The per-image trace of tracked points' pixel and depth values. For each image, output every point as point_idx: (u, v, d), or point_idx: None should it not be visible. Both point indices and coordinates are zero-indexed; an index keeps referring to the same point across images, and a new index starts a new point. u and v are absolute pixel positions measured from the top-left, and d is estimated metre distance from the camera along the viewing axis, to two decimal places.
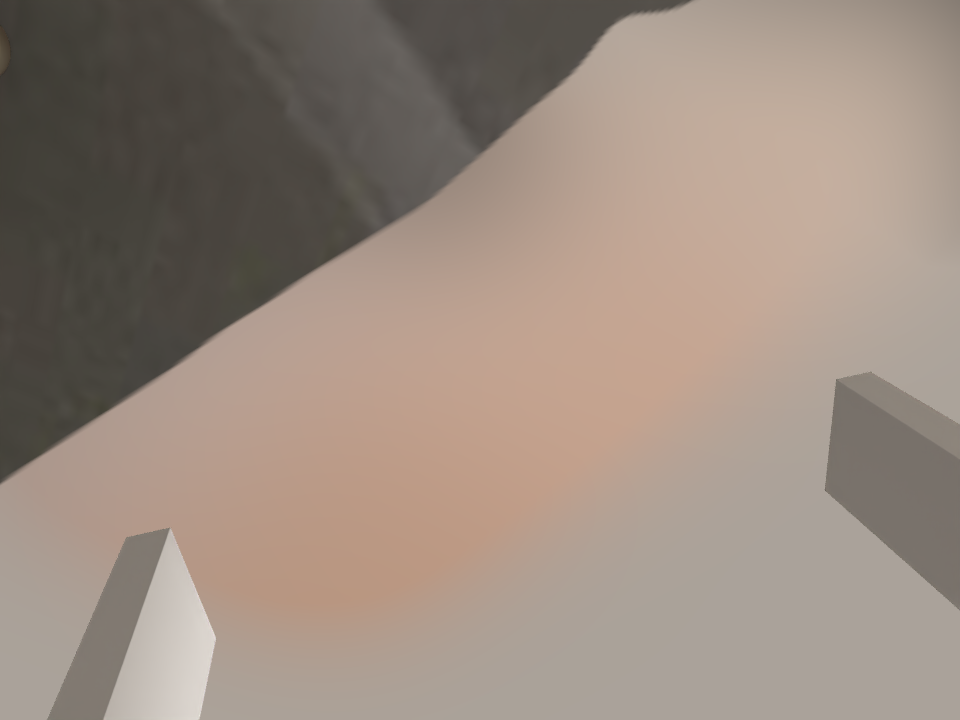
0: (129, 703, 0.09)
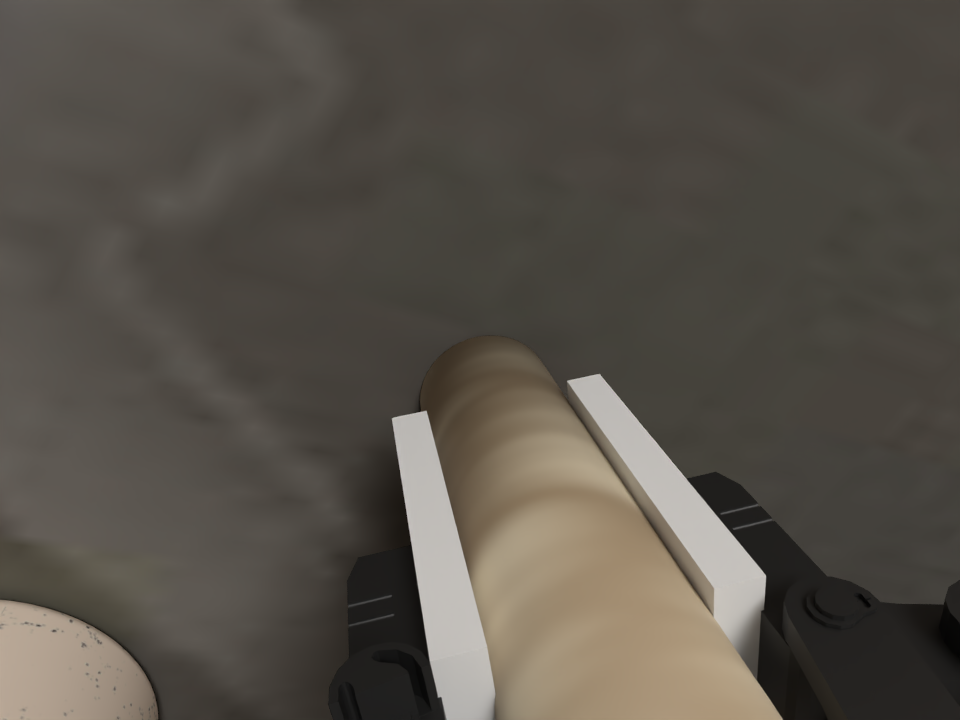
0: None
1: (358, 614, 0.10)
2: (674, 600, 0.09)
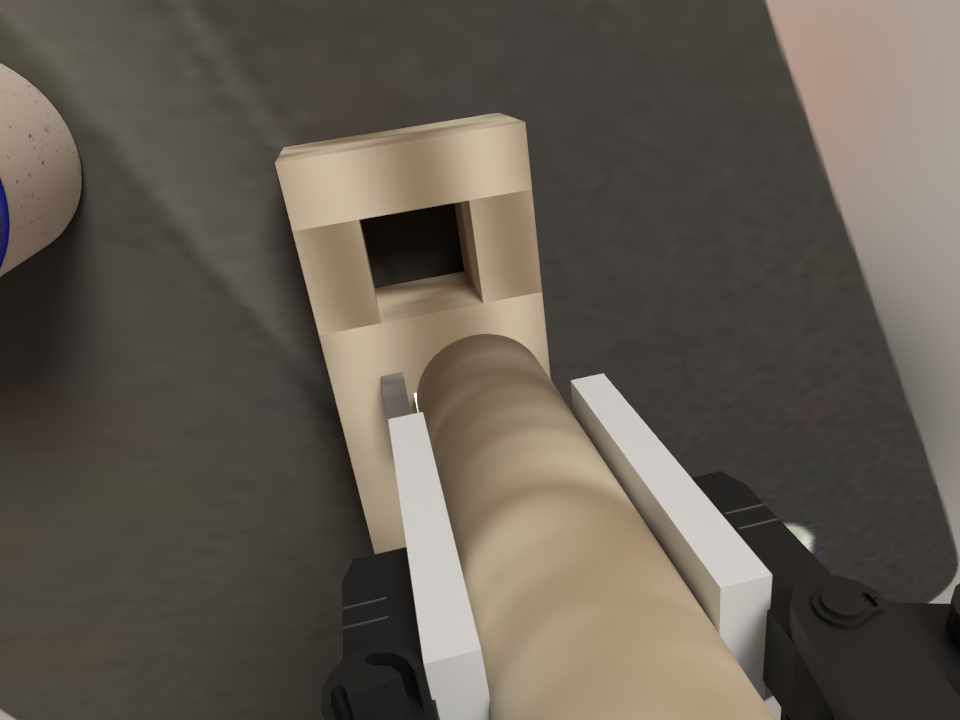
0: None
1: (353, 616, 0.10)
2: (664, 593, 0.09)
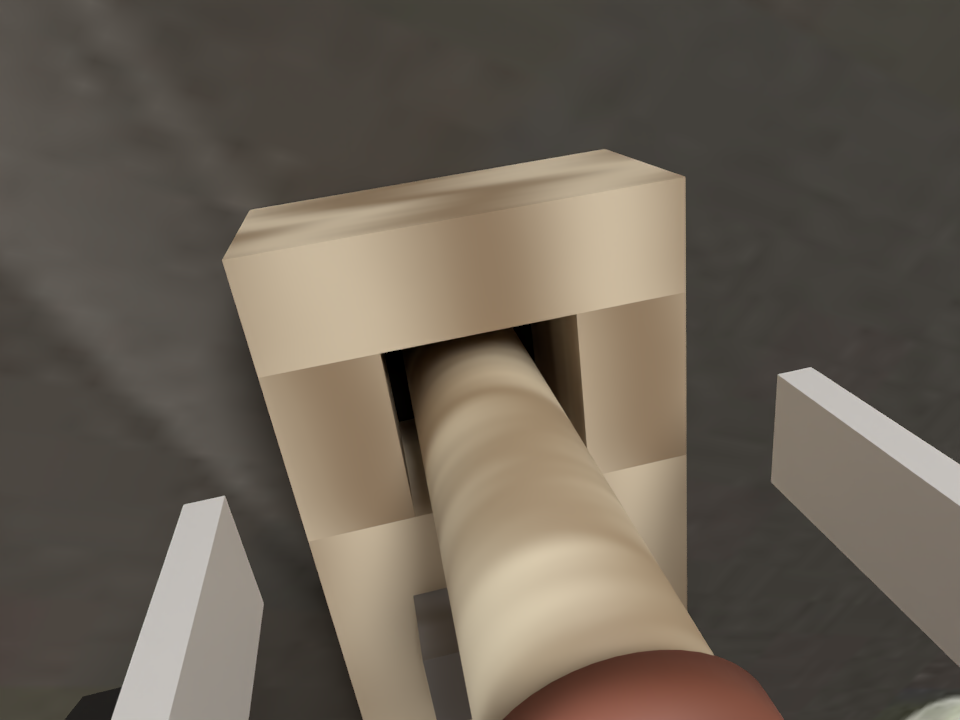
0: (201, 650, 0.10)
1: None
2: (566, 452, 0.12)
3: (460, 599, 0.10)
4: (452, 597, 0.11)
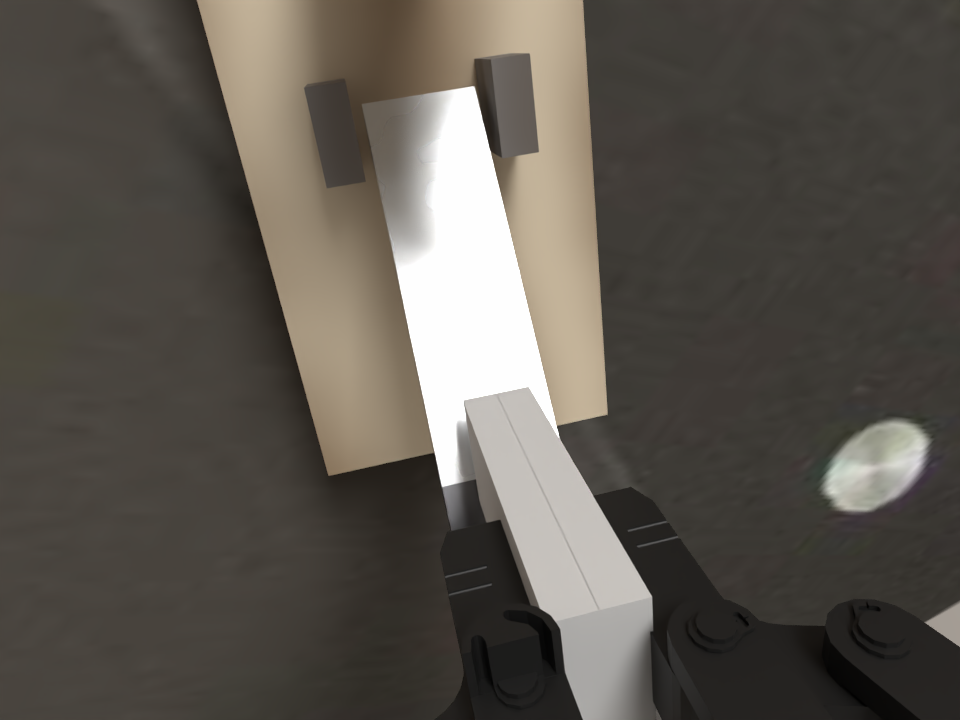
0: None
1: (456, 584, 0.11)
2: None
3: None
4: None
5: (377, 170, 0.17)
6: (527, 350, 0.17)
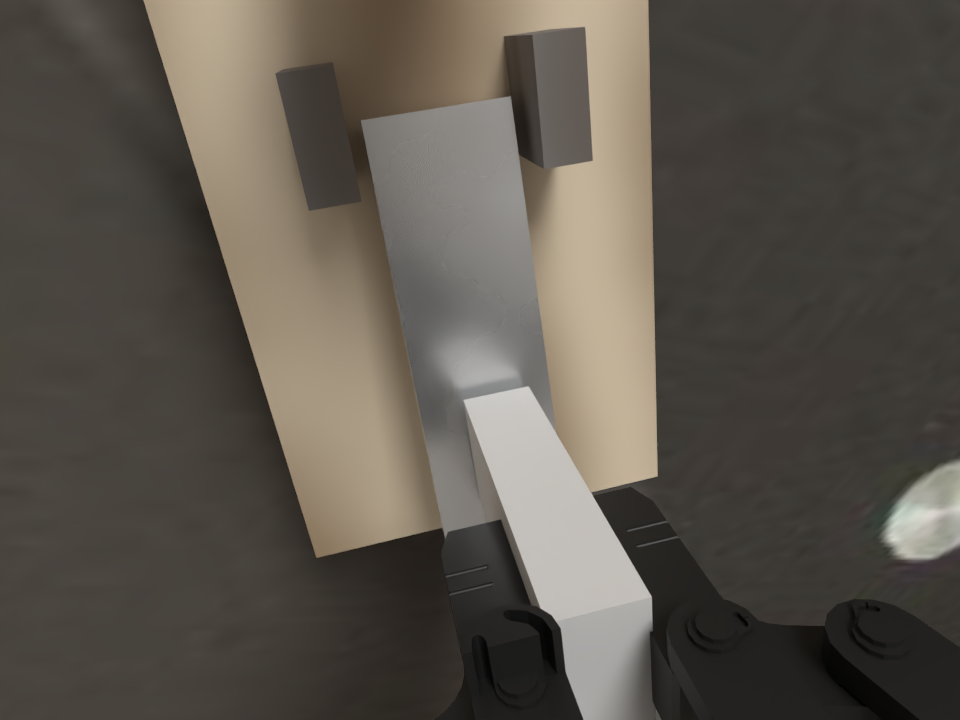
0: None
1: (457, 584, 0.11)
2: None
3: None
4: None
5: (382, 217, 0.14)
6: None
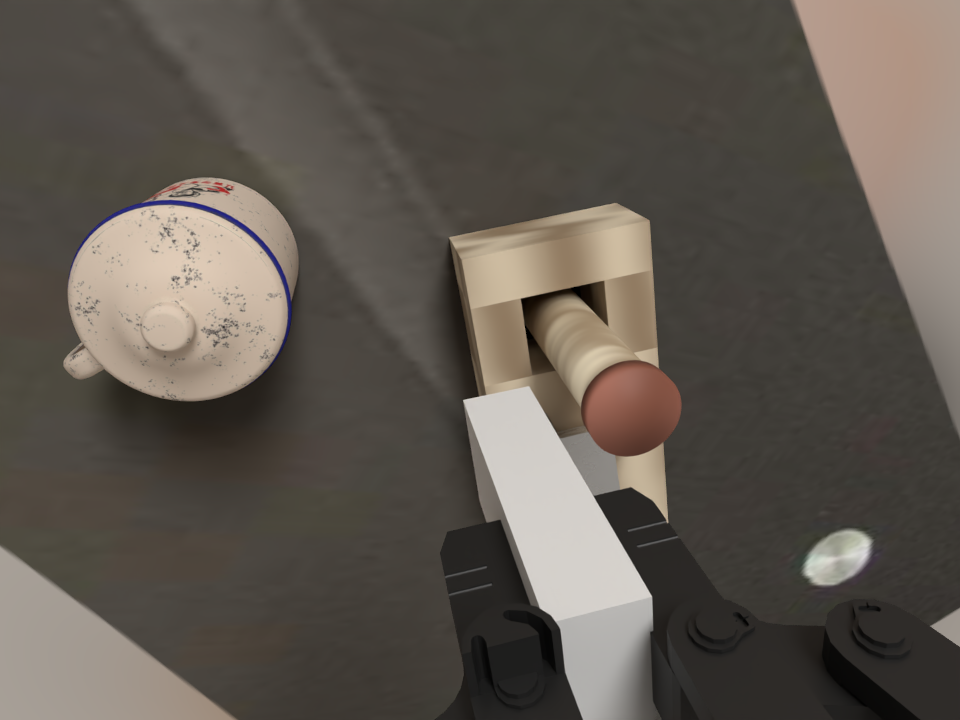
0: None
1: (456, 584, 0.11)
2: (604, 327, 0.33)
3: (571, 370, 0.31)
4: (567, 373, 0.31)
5: None
6: None
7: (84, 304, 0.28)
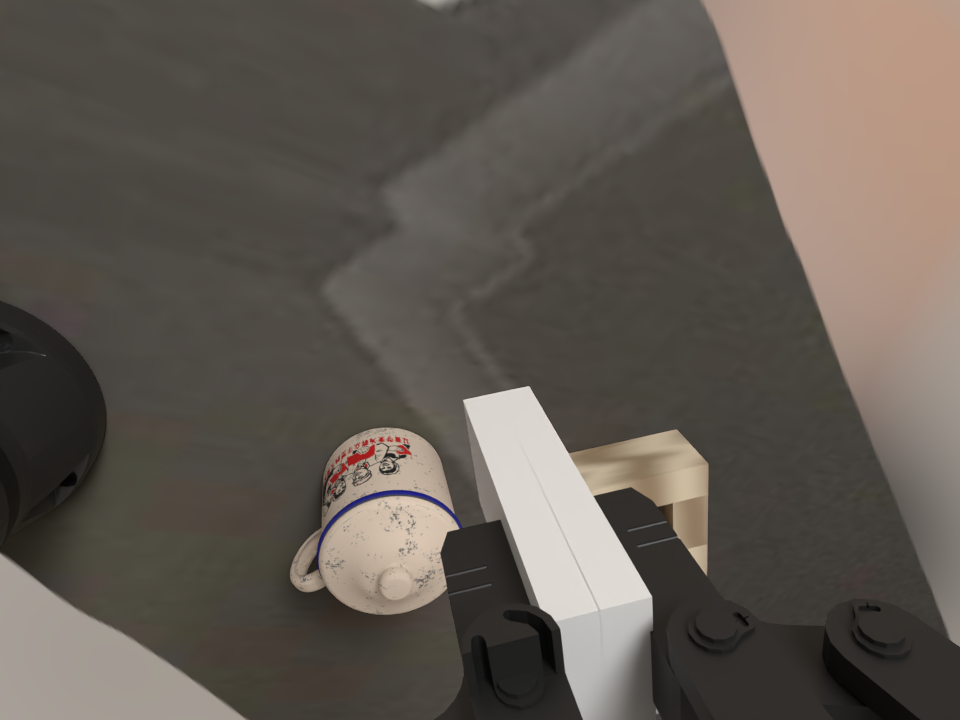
0: None
1: (456, 584, 0.11)
2: None
3: None
4: None
5: None
6: None
7: (332, 562, 0.40)
